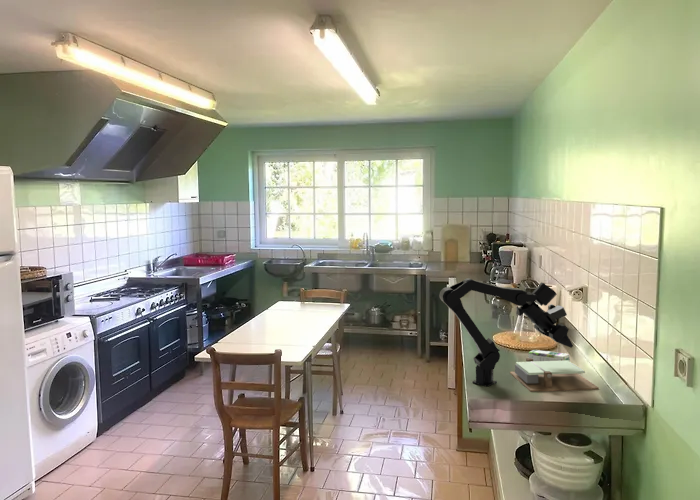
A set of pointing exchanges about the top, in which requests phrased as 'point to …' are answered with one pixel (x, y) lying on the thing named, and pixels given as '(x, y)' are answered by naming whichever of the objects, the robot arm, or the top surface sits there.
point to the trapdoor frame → (556, 382)
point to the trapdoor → (544, 369)
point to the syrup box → (547, 356)
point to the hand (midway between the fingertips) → (566, 343)
